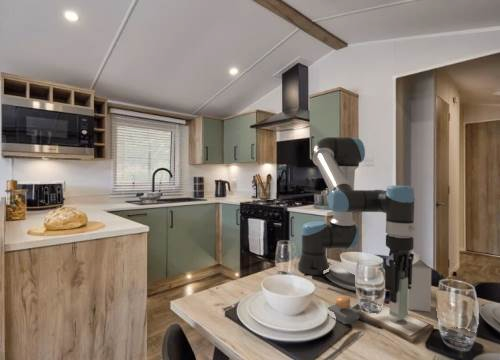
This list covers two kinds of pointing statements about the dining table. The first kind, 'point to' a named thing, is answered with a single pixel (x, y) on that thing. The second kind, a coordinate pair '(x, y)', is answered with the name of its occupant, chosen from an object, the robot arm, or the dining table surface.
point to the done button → (343, 301)
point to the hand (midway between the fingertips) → (398, 310)
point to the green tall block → (402, 296)
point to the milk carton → (420, 286)
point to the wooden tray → (399, 324)
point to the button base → (345, 314)
